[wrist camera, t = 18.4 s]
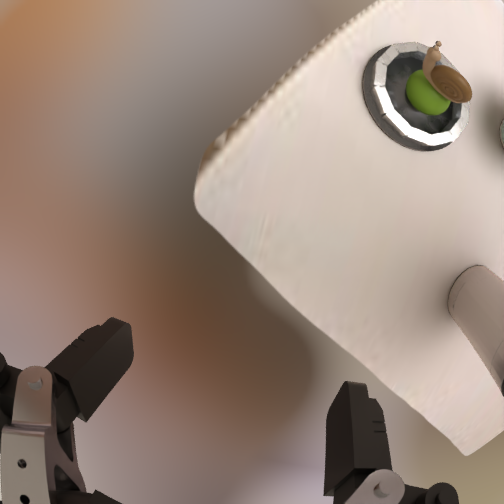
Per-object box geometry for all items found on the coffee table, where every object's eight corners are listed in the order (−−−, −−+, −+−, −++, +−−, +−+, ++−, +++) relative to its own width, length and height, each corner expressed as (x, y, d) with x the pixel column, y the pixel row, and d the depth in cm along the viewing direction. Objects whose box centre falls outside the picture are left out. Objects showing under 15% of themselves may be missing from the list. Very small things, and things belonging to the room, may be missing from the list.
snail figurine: (405, 62, 24) (445, 25, 12) (445, 97, 24) (498, 78, 13) (385, 91, 26) (423, 61, 14) (426, 126, 26) (480, 117, 15)
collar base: (463, 71, 22) (475, 65, 19) (454, 166, 27) (467, 167, 24) (368, 32, 24) (373, 21, 21) (354, 131, 29) (360, 128, 26)
